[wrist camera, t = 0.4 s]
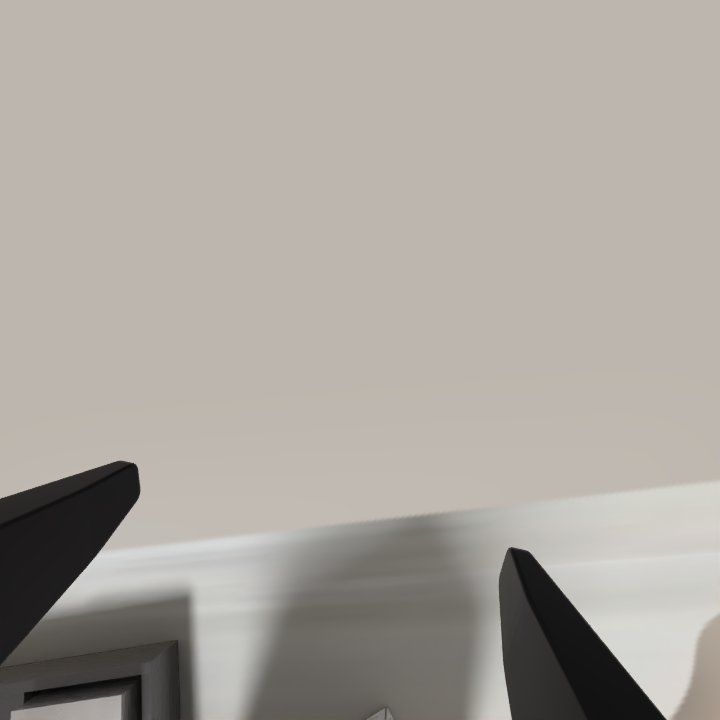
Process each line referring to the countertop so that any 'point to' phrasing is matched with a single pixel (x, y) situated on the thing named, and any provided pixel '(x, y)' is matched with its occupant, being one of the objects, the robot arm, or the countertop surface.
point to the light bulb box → (382, 715)
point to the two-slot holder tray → (95, 686)
